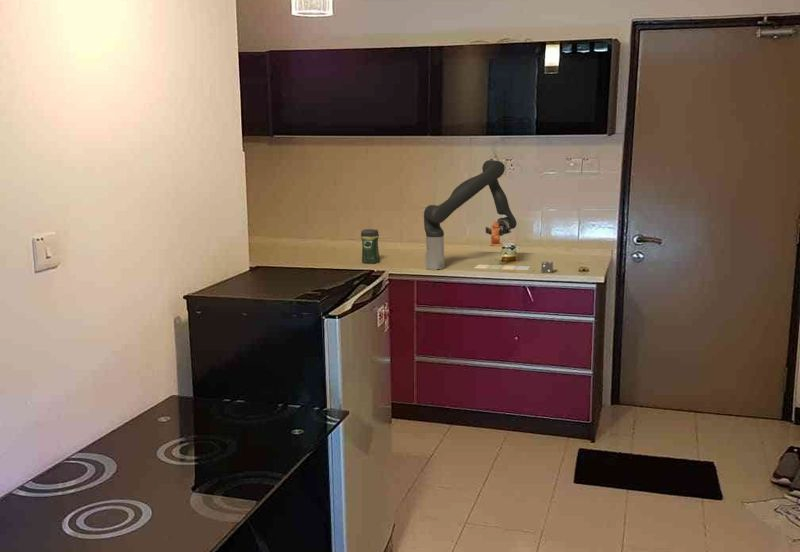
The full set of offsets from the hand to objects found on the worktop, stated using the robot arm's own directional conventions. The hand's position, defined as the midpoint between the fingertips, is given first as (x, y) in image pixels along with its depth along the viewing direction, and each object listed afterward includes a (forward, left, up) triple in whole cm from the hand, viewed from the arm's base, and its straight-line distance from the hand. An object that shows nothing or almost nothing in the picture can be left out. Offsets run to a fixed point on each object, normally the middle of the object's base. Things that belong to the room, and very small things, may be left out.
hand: (494, 232), depth 388 cm
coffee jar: (-72, +11, -20) cm, 75 cm away
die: (+26, +2, -20) cm, 33 cm away
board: (+3, +3, -20) cm, 20 cm away
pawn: (0, +3, -7) cm, 8 cm away
